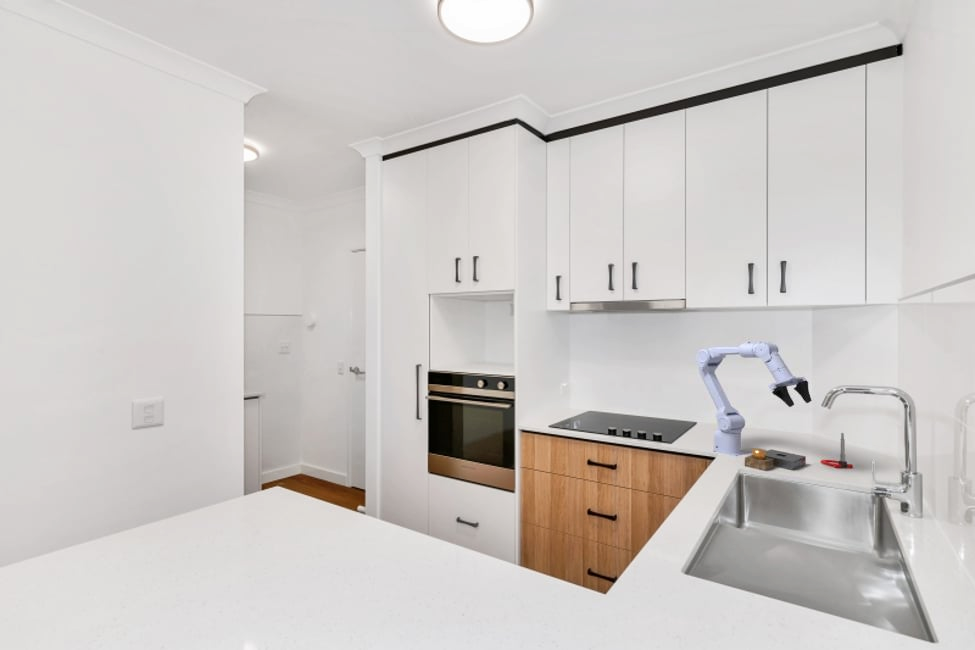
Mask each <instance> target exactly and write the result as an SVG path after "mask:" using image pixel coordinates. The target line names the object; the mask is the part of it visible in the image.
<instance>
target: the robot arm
mask: <svg viewBox="0 0 975 650" xmlns="http://www.w3.org/2000/svg"><path fill="white" fill-rule="evenodd" d="M733 355H734V356H735V355H739V356H740V357H742V358H744V359H746V358H749V359H751V358H754V359H755V358H757V359H758V358H760V359H761V360H762V362H764V364H765V366H766V368H767V369H768V370H769V372H770V374H771V375H772V377H773V378H774V380H775V381H776V382H774V383H772V382H771V383H770V384H769V385H768V388H769V389H770V391H772V392H771V393H772V394H773V395H774V396H776V397H777V398H778V399H780V400H781V401H783V402H784V404H785V405H787V406H788V407H789V408H791V407H793V406H794V405H795V403H794V401H793V399H792V397H791V395H790V393H789V389H788V387H790V386H795V387H794V388H793V390H794V391H795V392H797V394H798V395H799V396H800V397H801V398H802V399H803V401H804V402H805V403H806V404H808V403H810V402H812V401H813V400H812V397H811V394H810V390H809V381H808V380H807V379H806V377H805V376H801V377H800V376H799V377H798V376H797V377H796V376H794V375H793V373H792V372H791V371H790V369H789V368H788V366H787V365H786V363H785V361H784V360H783V358H782V357H781V355H780V354H779V347H778V345H777V344H775V343H774V342H762V341H757V342H751V341H745V342H744V343H741V344H740V345H739V346H715V347H708V348H706V349H705V348H702V349H699V350H698V352H697V354H696V356H695V360H696V362H697V364H698V371H699V375H700V377H701V379H702V381H703V383H704V385H705V387H706V389H707V391H708V393H709V396H710V398H711V400H712V401H713V404H714V406H715V409H717V412H716V414H715V418H716V423H717V426H718V428H719V429H716V430H715V432H714V436H713V450H712V451H713V452H714V453H720V454H723V455H724V454H725V455H729V456H733V457H738V456H740V455H741V456H742V455H744V454H746V452H745V451H741V450H742V449H741V447H742V443H741V442H742V431H743V430H742V429H744V428H745V426H746V421H745V418H744V417H743V415H741V414H740V412H739V411H738V409H736V408H734V407H733V406H732V405H731V402H730V401H729V399H728V397H727V396H726V393H725V391H724V389H723V387H722V385H721V383H720V380H719V379H718V377H717V374H716V373H715V371H716V370H717V369H718V367H719V366H720V365H721V363H722V362H723V360H724V359H725V358H726V356H733Z"/></svg>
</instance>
